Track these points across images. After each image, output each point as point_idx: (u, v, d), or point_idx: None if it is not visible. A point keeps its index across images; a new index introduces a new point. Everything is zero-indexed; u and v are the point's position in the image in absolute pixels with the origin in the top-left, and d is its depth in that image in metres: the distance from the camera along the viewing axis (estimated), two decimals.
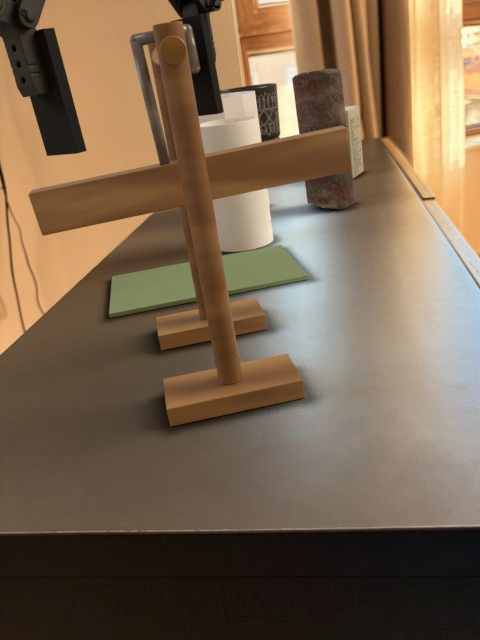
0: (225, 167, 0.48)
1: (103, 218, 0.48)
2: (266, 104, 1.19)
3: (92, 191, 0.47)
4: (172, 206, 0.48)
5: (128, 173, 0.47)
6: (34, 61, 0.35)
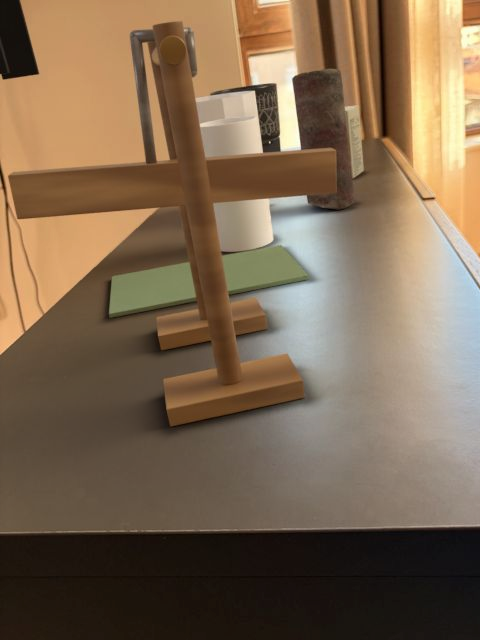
0: (211, 173, 0.47)
1: (82, 209, 0.47)
2: (266, 104, 1.19)
3: (74, 180, 0.46)
4: (153, 206, 0.48)
5: (112, 167, 0.46)
6: None
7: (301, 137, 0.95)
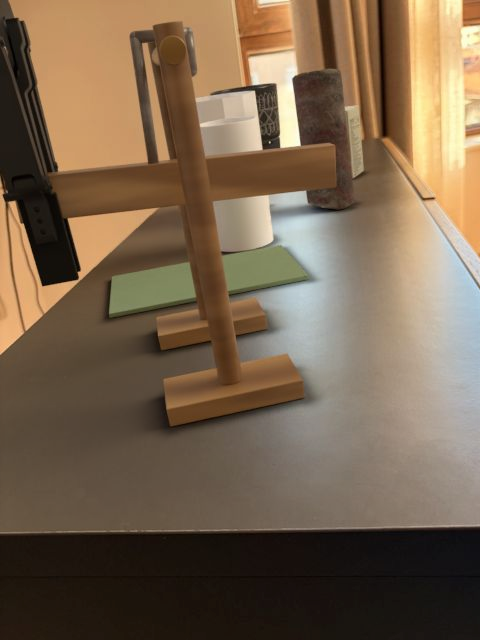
0: (213, 171, 0.48)
1: (86, 211, 0.47)
2: (266, 104, 1.19)
3: (77, 183, 0.46)
4: (157, 205, 0.48)
5: (115, 168, 0.47)
6: (50, 217, 0.46)
7: (301, 137, 0.95)
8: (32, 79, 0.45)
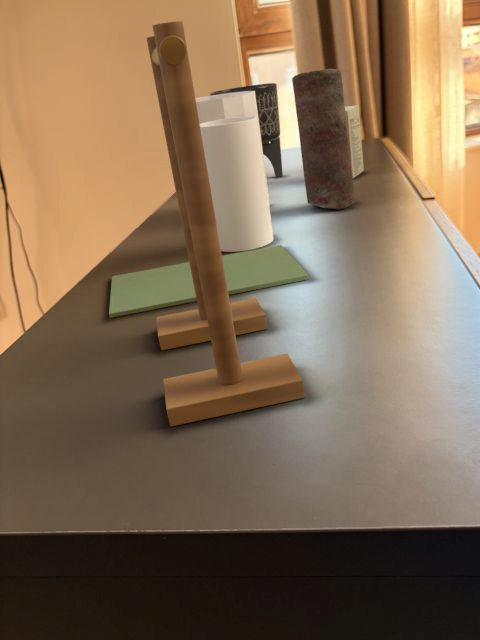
0: None
1: None
2: (266, 104, 1.19)
3: None
4: None
5: None
6: None
7: (301, 137, 0.95)
8: None
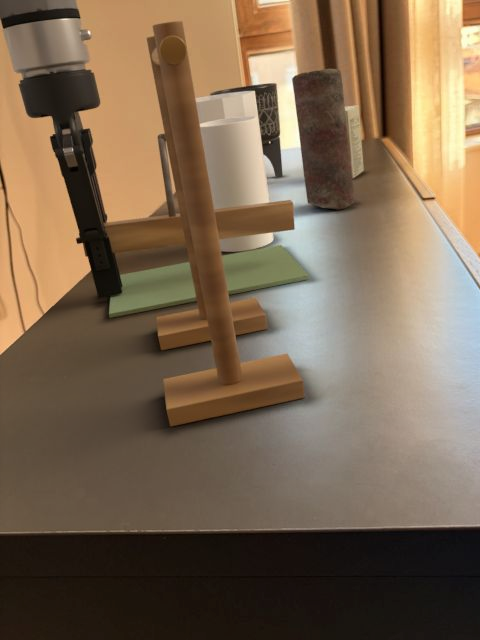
0: None
1: (128, 248, 0.72)
2: (266, 104, 1.19)
3: (122, 230, 0.71)
4: (174, 243, 0.73)
5: (147, 220, 0.71)
6: (105, 253, 0.70)
7: (301, 137, 0.95)
8: (94, 164, 0.69)
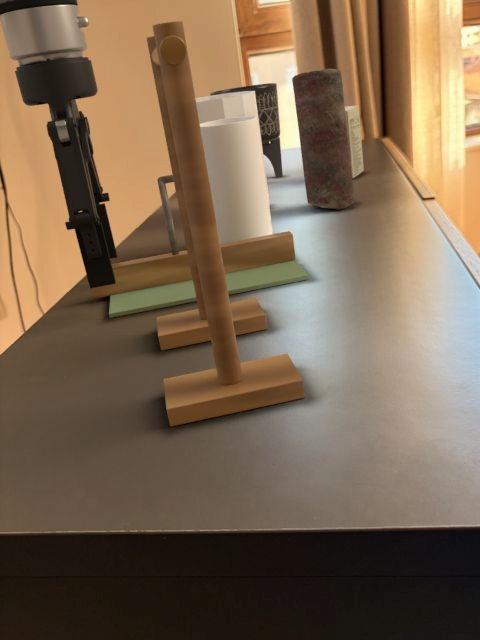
0: None
1: (134, 287, 0.74)
2: (266, 104, 1.19)
3: (128, 271, 0.73)
4: (179, 281, 0.74)
5: (152, 260, 0.73)
6: (97, 240, 0.65)
7: (301, 137, 0.95)
8: (91, 150, 0.70)
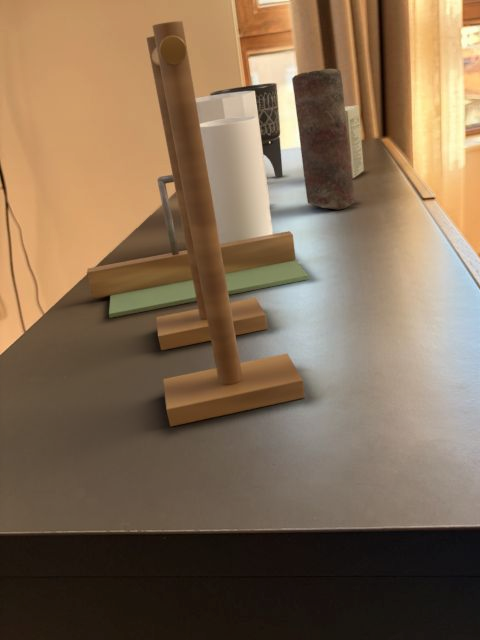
0: None
1: (134, 287, 0.74)
2: (266, 104, 1.19)
3: (128, 271, 0.73)
4: (179, 281, 0.74)
5: (152, 260, 0.73)
6: None
7: (301, 137, 0.95)
8: None
